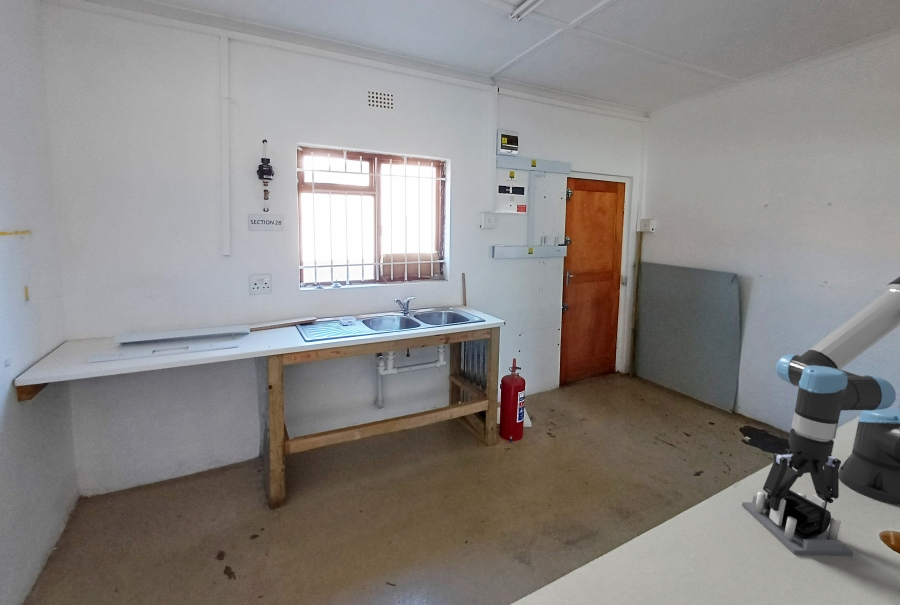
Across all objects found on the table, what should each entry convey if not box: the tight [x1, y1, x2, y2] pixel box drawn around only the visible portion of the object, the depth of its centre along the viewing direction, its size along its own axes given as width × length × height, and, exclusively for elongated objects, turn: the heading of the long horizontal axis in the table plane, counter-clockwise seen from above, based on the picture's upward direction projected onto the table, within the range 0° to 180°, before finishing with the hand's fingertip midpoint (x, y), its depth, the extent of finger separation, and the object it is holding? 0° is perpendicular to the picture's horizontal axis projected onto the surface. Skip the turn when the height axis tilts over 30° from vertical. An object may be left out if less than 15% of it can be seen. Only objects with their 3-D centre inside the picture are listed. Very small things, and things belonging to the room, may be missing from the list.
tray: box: [741, 491, 854, 557], centre depth 97 cm, size 13×16×6 cm
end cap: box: [765, 489, 832, 539], centre depth 96 cm, size 10×7×7 cm
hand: (794, 522), depth 97 cm, fingers closed on end cap, 8 cm apart
